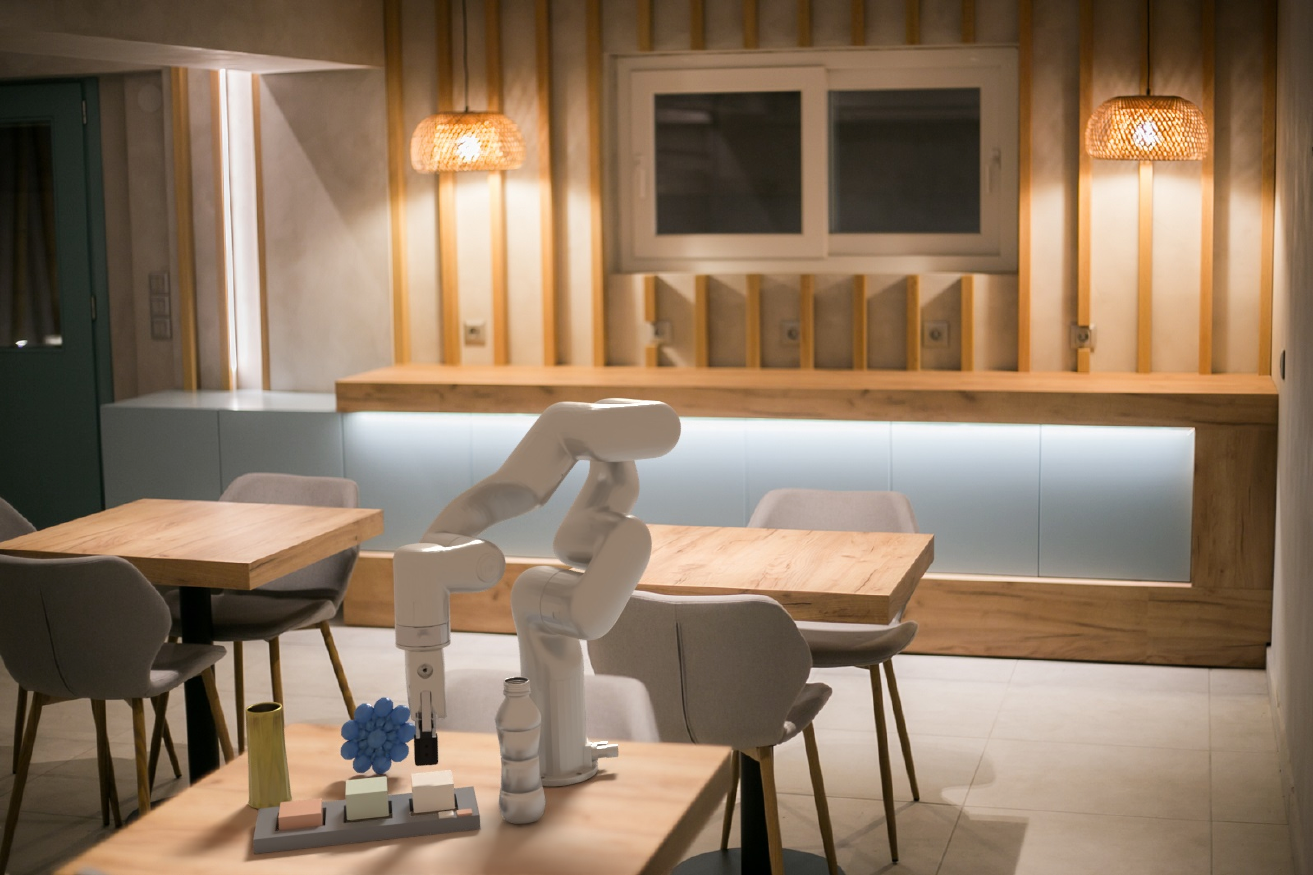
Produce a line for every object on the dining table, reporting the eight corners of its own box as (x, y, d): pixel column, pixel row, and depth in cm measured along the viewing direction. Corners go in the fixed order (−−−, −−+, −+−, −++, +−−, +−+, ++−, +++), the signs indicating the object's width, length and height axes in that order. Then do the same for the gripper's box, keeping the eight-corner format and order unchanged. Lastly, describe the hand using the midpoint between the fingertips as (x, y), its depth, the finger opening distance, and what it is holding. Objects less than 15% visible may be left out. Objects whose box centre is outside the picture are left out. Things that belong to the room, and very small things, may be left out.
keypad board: (474, 799, 208) (473, 784, 207) (480, 828, 197) (479, 812, 197) (259, 822, 202) (258, 806, 202) (254, 853, 191) (253, 837, 191)
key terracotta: (323, 822, 201) (321, 798, 201) (322, 838, 196) (320, 813, 195) (282, 827, 200) (280, 802, 199) (280, 843, 194) (278, 817, 194)
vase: (280, 811, 206) (273, 714, 204) (240, 809, 207) (234, 713, 205) (299, 795, 212) (292, 701, 210) (260, 793, 213) (254, 700, 211)
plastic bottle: (510, 833, 195) (503, 690, 193) (492, 816, 201) (485, 678, 199) (554, 823, 198) (548, 682, 196) (534, 807, 204) (528, 670, 202)
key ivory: (452, 794, 204) (451, 769, 204) (454, 808, 199) (453, 783, 198) (412, 798, 203) (411, 773, 203) (413, 813, 198) (412, 788, 197)
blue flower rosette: (421, 762, 224) (417, 687, 222) (416, 777, 217) (412, 701, 216) (346, 765, 223) (341, 690, 222) (339, 781, 217) (334, 704, 215)
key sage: (388, 800, 202) (386, 776, 202) (388, 815, 197) (387, 790, 197) (347, 805, 201) (345, 780, 201) (347, 820, 196) (345, 795, 195)
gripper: (453, 645, 191) (457, 779, 193) (447, 620, 206) (450, 744, 208) (396, 649, 190) (400, 783, 192) (393, 623, 204) (397, 748, 206)
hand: (426, 763), depth 200 cm, fingers closed
